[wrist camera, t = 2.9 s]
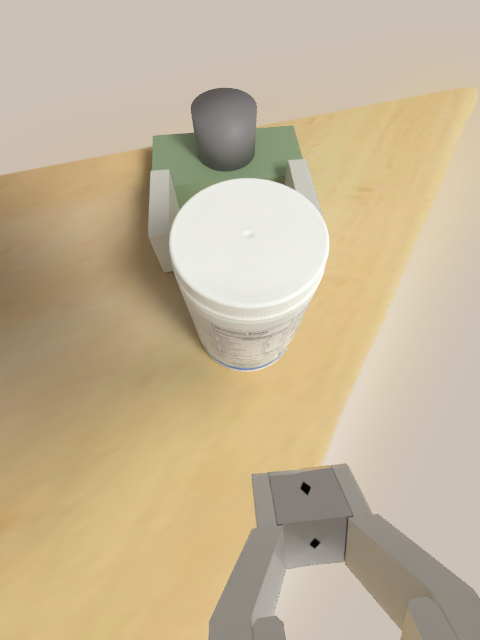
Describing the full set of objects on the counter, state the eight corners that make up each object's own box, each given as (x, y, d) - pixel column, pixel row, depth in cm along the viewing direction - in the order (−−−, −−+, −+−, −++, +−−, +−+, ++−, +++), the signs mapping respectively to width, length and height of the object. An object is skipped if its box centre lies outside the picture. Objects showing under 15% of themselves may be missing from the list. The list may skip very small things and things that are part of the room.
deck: (159, 272, 33) (131, 213, 24) (161, 164, 40) (140, 91, 32) (315, 258, 33) (338, 196, 25) (288, 154, 41) (300, 80, 32)
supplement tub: (197, 293, 32) (164, 178, 18) (283, 285, 32) (312, 166, 18) (202, 380, 28) (164, 316, 14) (299, 370, 28) (352, 298, 14)
